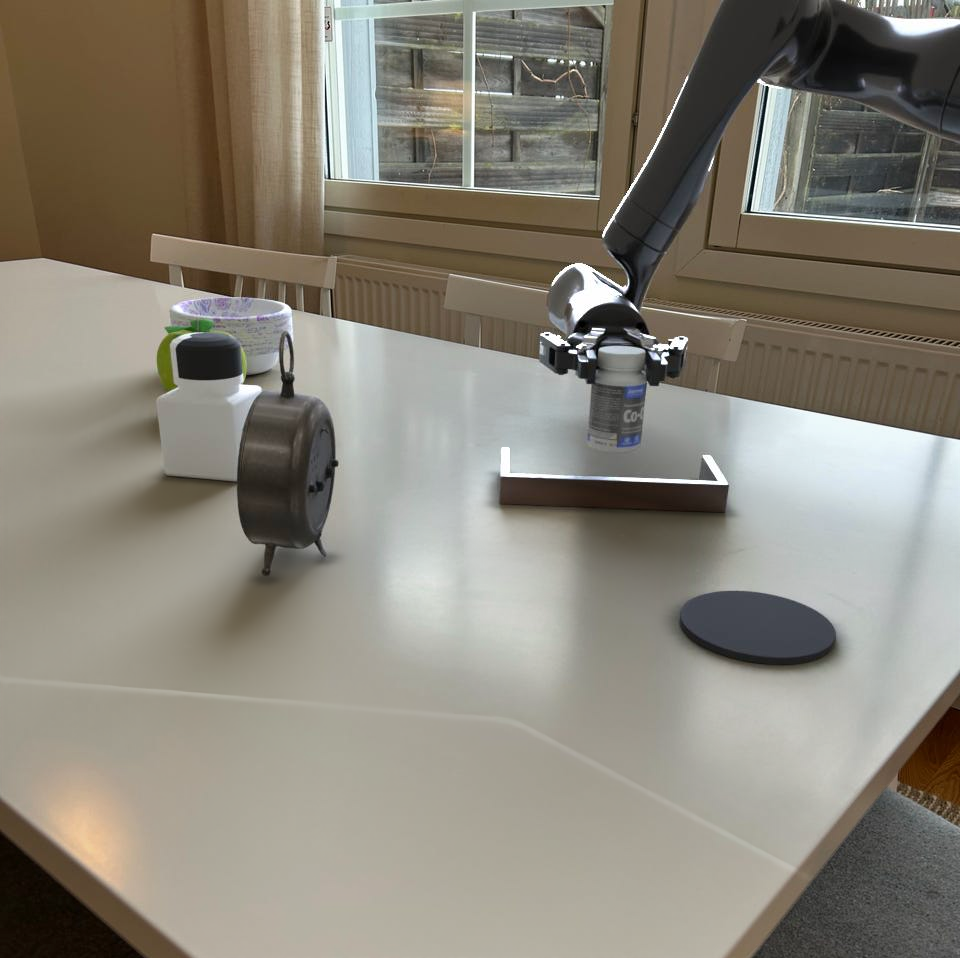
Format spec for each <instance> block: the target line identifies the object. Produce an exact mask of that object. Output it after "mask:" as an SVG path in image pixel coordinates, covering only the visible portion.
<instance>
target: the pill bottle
mask: <svg viewBox="0 0 960 958" xmlns="http://www.w3.org/2000/svg"><path fill="white" fill-rule="evenodd" d="M597 365H598V366H599V367H600V369H599V370H597V371H596V378H595V384H590V385H591V387H590V400H589V414H588V427H587V445H588V447H590V448H591V449H593V450H596V451H600V452H606V453H612V454H613V453H614V454H616V453H617V454H625V453H630V452H634V451H636V450H638V449H639V448H640V447H641V444H642V436H643V435H642V434H643V424H644V415H645V404H646V394H647V386H648V381H647V377H646V375H645V374H644V373H643V372H642V371H641V369H643V368H644V365H645V350H643V349H641V348H636V347H630V346H607V347H602V348H600V349H599V351H598V364H597Z"/></svg>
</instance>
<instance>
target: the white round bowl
mask: <svg viewBox="0 0 960 958" xmlns="http://www.w3.org/2000/svg"><path fill="white" fill-rule="evenodd" d="M292 313H293V311H292V308H291V307H290V306H289V305H288V304H286V303H284V302H281V301H276V300H271V299H265V298H255V297H237V296H235V297H234V296H230V297H224V296H223V297H206V298H196V299H189V300H184V301H180V302H177V303H174V304H173V305H171V307H170V308H169V319H170V326H184V327H192V325H191V324H190V321H191V320H196V319H208V320H212V321H214V326H213V328H212V329H210V330H212V331H217V332H219V331H221V332H227V333H229V334H231V335H232V336H233V337H234V338H236V339H237V340H238V341H239V342H240V344H241V347H242V349H243V351H244V354H245V357H246V364H247V368H246V376H251V375H257V374H262V373H265V372H269V371H270V370H271V369H273V368H274V367H275V366H276V365H277V364H278V362H279V343H280V338H281V334H282V332H283V331H287V332H289V334H290V336H291V339H292V343H293V344H294V332H293V327H294V326H293V318H292ZM286 350H289V345H288V340H287V338H286V337H285V341H284V351H286Z"/></svg>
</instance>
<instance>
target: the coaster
mask: <svg viewBox="0 0 960 958" xmlns="http://www.w3.org/2000/svg"><path fill="white" fill-rule="evenodd" d="M679 625H680V628H681V630H682V631H683V632H684V633H685V635H686V636H687V637H689V638H690V639H691V640H692V641H693V642H695V643H696V644H698V645H699V646H701V647H703V648H705V649H707V650H709V651H711V652H712V653H713V652H714V653H716V654H719V655H721V656H724V657H728V658H731V659H734V660H739V661H744V662H749V663H753V664H762V665H763V664H764V665H777V666H779V665H797V664H804V663H809V662H813V661H815V660H818V659H821V658H823V657H824V656H826V655H828V654H829V653H830V652H831V651H832V649H833V648H834V646H835V643H836V640H837V632H836V629H835V627H834V624H832V622H831V621H830V620H829V618H827V617H826V616H824V614H822V613H820V612H819V611H818V610H816V609H814V608H812V607H811V606H808V605H806V604H803V603H801V602H799V601H796V600H794V599H790V598H787V597H783V596H779V595H775V594H770V593H765V592H759V591H749V590H720V591H713V592H708V593H707V592H706V593H703V594H699V595H697V596H695V597H692V598H691V599H688V601H686V602H685V603H684V604H683V606H682V607H681V609H680V612H679Z"/></svg>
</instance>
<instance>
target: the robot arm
mask: <svg viewBox="0 0 960 958" xmlns="http://www.w3.org/2000/svg"><path fill="white" fill-rule="evenodd" d="M757 83H760V84H762V85H764V86H768V87H771V88H777V89H783V90H791V91H797V92H804V93H810V94H815V95H820V96H826V97H830V98H835V99H836V98H837V99H841V100H845V101H850V102H853V103H856V104H859V105H862V106H864V107H867V108H869V109H871V110H873V111H875V112H878V113H880V114H882V115H884V116H886V117H888V118H890V119H892V120H894V121H897V122H899V123H902V124H904V125H907V126H908V127H911V128H914V129H917V130H920V131H922V132H926V133H928V134H930V135H933V136H936V137H938V138H941V139H944V140H947V141H951V142H953V143H957V144H960V16H938V17H937V16H933V17H917V18H916V17H915V18H912V17H911V18H905V17H904V18H903V17H894V16H890V15H885V14H881V13H878V12H875V11H872V10H869V9H866V8H863V7H860V6H858V5H856V4H852V3H850V2H847V1H844V0H721V1H720V3H719V6H718V8H717V9H716V12H715V14H714V16H713V18H712V20H711V23H710V25H709V27H708V29H707V32H706V34H705V36H704V39H703V41H702V44H701V45H700V48H699V50H698V52H697V56H696V58H695V60H694V62H693V64H692V66H691V69H690V70H689V73H688V75H687V77H686V79H685V82H684V84H683V87H682V88H681V90H680V93H679V95H678V97H677V99H676V101H675V104H674V106H673V109H672V110H671V113H670V115H669V116H668V118H667V121H666V123H665V125H664V127H663V128H662V131H661V133H660V135H659V137H658V138H657V141H656V143H655V145H654V147H653V149H652V150H651V152H650V154H649V156H648V157H647V160H646V162H645V163H644V164H643V167H642V168H641V170H640V172H639V173H638V175H637V176H636V178H635V180H634V182H633V183H632V184H631V186H630V188H629V190H628V191H627V193H626V195H625V196H624V197H623V199H622V201H621V202H620V204H619V206H618V207H617V209H616V211H615V212H614V214H613V216H612V218H610V221H609V222H608V224H607V226H606V227H605V228H604V231H603V234H602V236H601V243H602V246H603V248H604V250H605V251H606V252H607V253H608V255H610V256H611V257H612V258H613V260H615V262H616V263H617V264H618V265H619V266H620V267H621V268H622V269H623V270H624V272H625V275H626V281H625V284H624V285H623V287H622V286H620V285H619V284H617V283H615V282H614V281H612V280H611V279H609V278H607V277H606V276H604V275H603V274H601V273H600V272H598V271H596V270H595V269H594V268H592V267H590V266H588V265H586V264H583V263H575V264H571V265H569V266H567V267H565V268H564V269H563V270H562V271H560V272H559V274H558V275H556V277H555V278H554V280H553V282H552V283H551V285H550V287H549V289H548V290H549V291H548V293H547V297H546V304H545V305H546V307H545V308H546V314H547V317H548V318H549V321H550V322H551V323H552V324H553V325H554V326H555V327H556V328H558V330H560V331H561V332H562V333H563V334H565V335H566V341H564V340H563V339H562V336H560V335H557V336H556V334H553V333H551V332H548V331H547V332H544V333H540V339H539V341H540V342H539V357H538V358H539V360H538V361H539V363H541V364H542V365H544V367H546V368H547V369H549V370H550V371H552V373H554V374H557V375H559V376H564V375H568V374H569V370H571V371H575V372H574V375H575V376H577V378H578V379H581V380H584V381H585V384H586V385H592V384H595V378H596V371H597V370H599V369H600V367H599V366H598V365H597V364H598V351H599V349H600V348H602V347H607V346H630V347H636V348H641V349H643V350H645V365H644V368H643V369H641V371H642V372H643V373H644V374H645V375H646V377H647V384H648V385H649V386H650V387H659V386H660V382H665V381H666V380H667V377H668V378H670V379H676V378H680V377H681V375H682V373H683V371H684V370H685V369H684V368H685V367H686V361H687V352H688V344H689V338H688V337H685V336H682V335H680V336H678V337H677V336H676V337H674V339H671V338H670V339H668V343H667V344H662V343H659V340H658V338H657V337H655V336H651V334H650V330H649V326H648V324H647V322H646V321H645V319H644V317H643V316H642V314H641V312H642V311H641V310H642V308H643V304H644V302H645V298H646V296H647V293H648V290H649V288H650V286H651V284H652V283H651V282H652V280H653V278H654V276H655V274H656V272H657V270H658V268H659V267H660V265H661V263H662V261H663V260H664V258H665V257H666V255H667V252H669V250H670V249H671V248H672V246H673V244H674V243H675V241H676V239H677V238H678V236H679V235H680V234H681V232H682V230H683V229H684V227H685V226H686V224H687V223H688V221H689V219H690V218H691V216H692V215H693V213H694V210H695V209H696V207H697V205H698V203H699V200H700V198H701V195H702V194H703V191H704V188H705V185H706V182H707V179H708V177H709V173H710V171H711V167H712V164H713V161H714V158H715V155H716V153H717V150H718V147H719V145H720V143H721V141H722V138H723V136H724V134H725V132H726V129H727V127H728V126H729V123H730V122H731V121H732V119H733V117H734V116H735V114H736V112H737V110H738V109H739V107H740V106H741V104H742V102H743V101H744V100H745V98H746V97H747V96H748V95H749V93H750V92H751V91H752V90H753V88H754V86H756V84H757Z"/></svg>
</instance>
